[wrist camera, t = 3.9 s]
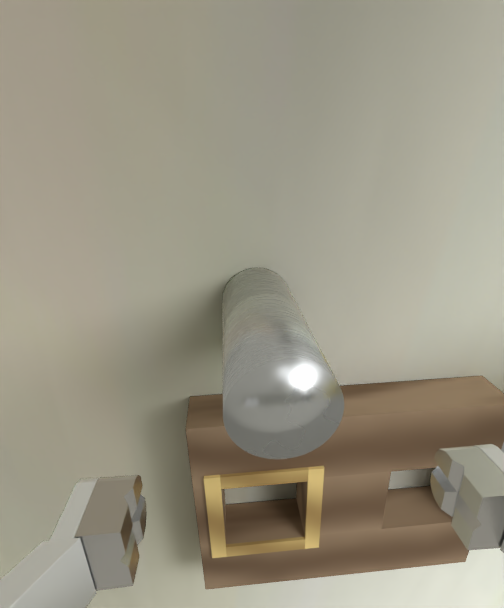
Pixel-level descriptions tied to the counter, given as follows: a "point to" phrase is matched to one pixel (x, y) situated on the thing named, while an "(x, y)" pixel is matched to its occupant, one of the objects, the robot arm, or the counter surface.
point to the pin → (274, 371)
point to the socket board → (339, 485)
